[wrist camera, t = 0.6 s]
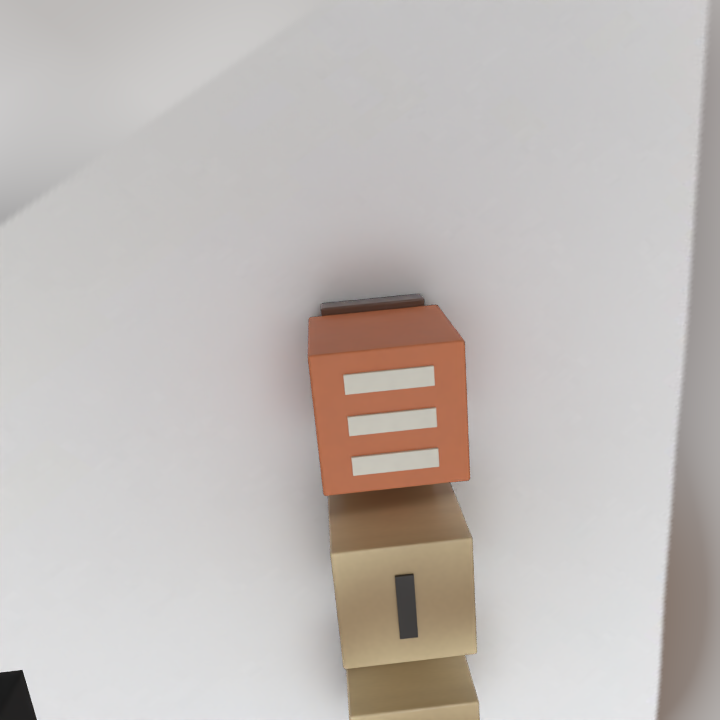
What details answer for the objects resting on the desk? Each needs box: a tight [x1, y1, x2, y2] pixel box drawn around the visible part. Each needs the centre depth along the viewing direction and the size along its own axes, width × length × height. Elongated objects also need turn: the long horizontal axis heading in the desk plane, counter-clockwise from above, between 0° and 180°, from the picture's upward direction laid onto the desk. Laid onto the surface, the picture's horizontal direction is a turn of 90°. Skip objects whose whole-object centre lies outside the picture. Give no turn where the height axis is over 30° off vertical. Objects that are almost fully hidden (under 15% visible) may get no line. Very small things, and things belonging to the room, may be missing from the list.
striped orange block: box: [308, 305, 470, 496], centre depth 22 cm, size 4×4×5 cm
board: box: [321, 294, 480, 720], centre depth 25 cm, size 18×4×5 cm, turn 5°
